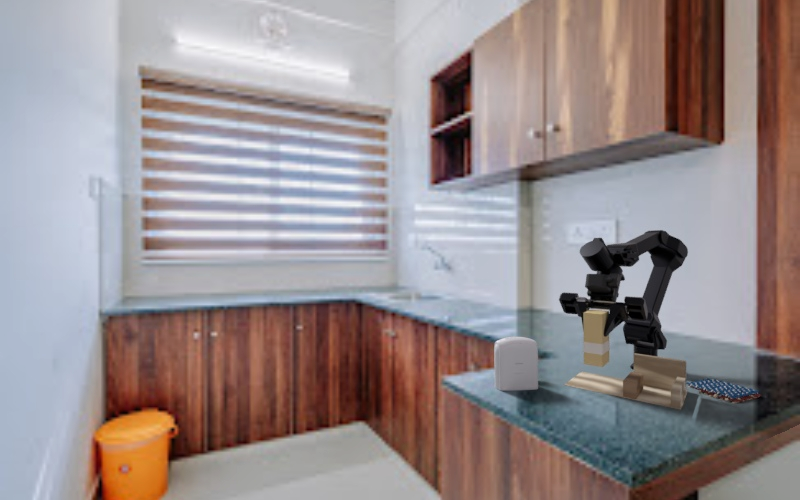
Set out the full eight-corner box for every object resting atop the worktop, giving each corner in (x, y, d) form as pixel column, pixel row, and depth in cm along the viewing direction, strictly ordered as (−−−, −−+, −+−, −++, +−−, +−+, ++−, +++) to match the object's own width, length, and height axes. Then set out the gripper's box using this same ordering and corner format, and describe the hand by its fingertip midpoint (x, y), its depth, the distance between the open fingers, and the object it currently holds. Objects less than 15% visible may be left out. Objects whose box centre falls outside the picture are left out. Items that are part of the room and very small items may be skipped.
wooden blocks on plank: (581, 373, 106) (581, 345, 106) (687, 393, 91) (687, 360, 91) (563, 387, 95) (563, 355, 95) (680, 412, 81) (680, 374, 81)
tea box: (591, 358, 98) (590, 309, 98) (609, 361, 95) (609, 311, 95) (583, 364, 93) (583, 312, 93) (602, 367, 90) (602, 314, 90)
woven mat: (735, 406, 85) (735, 397, 85) (683, 390, 95) (683, 382, 95) (763, 400, 89) (763, 390, 89) (711, 385, 99) (711, 377, 99)
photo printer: (497, 393, 91) (497, 339, 91) (491, 387, 95) (491, 335, 95) (541, 392, 92) (541, 338, 92) (533, 386, 96) (533, 334, 96)
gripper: (561, 261, 103) (545, 309, 95) (644, 262, 91) (634, 317, 82) (571, 289, 109) (557, 336, 101) (651, 293, 97) (642, 348, 88)
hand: (594, 334), depth 93 cm, fingers closed on tea box, 4 cm apart
